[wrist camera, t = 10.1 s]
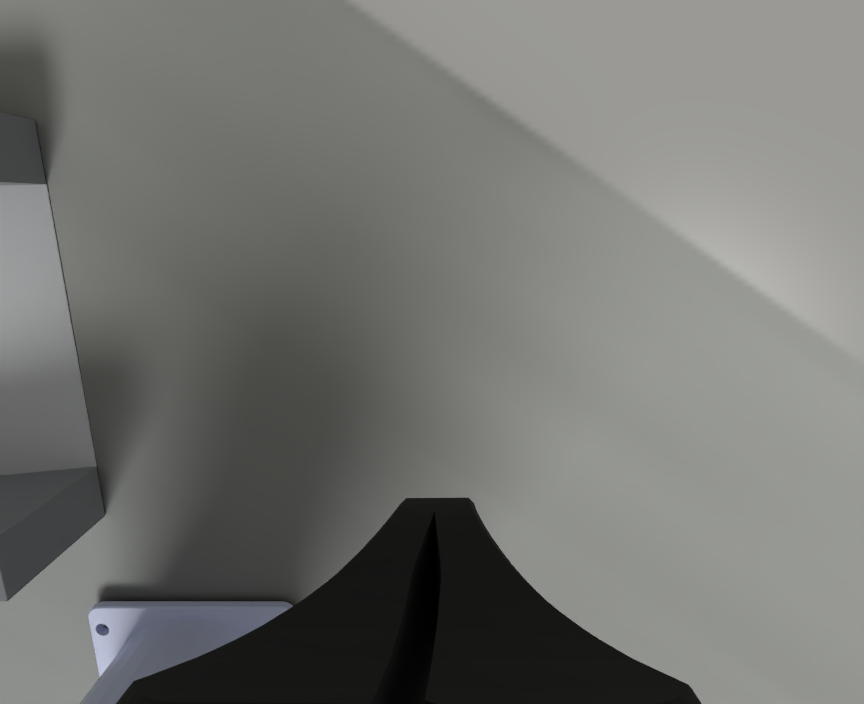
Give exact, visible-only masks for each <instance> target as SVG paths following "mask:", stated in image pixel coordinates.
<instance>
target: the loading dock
mask: <svg viewBox="0 0 864 704" xmlns="http://www.w3.org/2000/svg"><path fill="white" fill-rule="evenodd" d="M96 466H97V464H96V458H95V452H94V447H93V441H92V436H91V430H90V424H89V419H88V413H87V407H86V402H85V396H84V390H83V385H82V379H81V373H80V368H79V362H78V357H77V351H76V345H75V340H74V334H73V328H72V323H71V317H70V311H69V306H68V300H67V294H66V289H65V283H64V278H63V272H62V266H61V261H60V255H59V249H58V244H57V238H56V232H55V227H54V221H53V215H52V210H51V204H50V199H49V193H48V187H47V184H46V180H45V174H44V169H43V163H42V157H41V152H40V146H39V141H38V135H37V129H36V124H35V120H34V119H29V118H24V117H19V116H14V115H9V114H5V113H0V601H8V600H9V599H10V598H12V597H13V596H14V595H15V594H16V593H17V592H18V591H20V590H21V589H22V588H23V587H24V586H25V585H26V584H28V583H29V582H30V581H31V580H32V579H33V578H34V577H36V576H37V575H38V574H39V573H40V572H41V571H42V570H44V569H45V568H46V567H47V566H48V565H49V564H50V563H52V562H53V561H54V560H55V559H56V558H57V557H58V556H60V555H61V554H62V553H63V552H64V551H65V550H66V549H68V548H69V547H70V546H71V545H72V544H73V543H74V542H76V541H77V540H78V539H79V538H80V537H81V536H82V535H84V534H85V533H86V532H87V531H88V530H89V529H90V528H92V527H93V526H94V525H95V524H96V523H97V522H98V521H100V520H101V519H102V518H103V517H104V516H105V512H104V507H103V501H102V496H101V490H100V484H99V479H98V473H97V467H96Z"/></svg>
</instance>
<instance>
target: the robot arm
mask: <svg viewBox="0 0 864 704" xmlns="http://www.w3.org/2000/svg"><path fill="white" fill-rule="evenodd" d="M88 619H89V624H90V629H91V634H92V639H93V644H94V650H95V655H96V660H97V665H98V670H99V676H100V678H99V679H98V680H97V682H96V683H95V684H94V686H93V687H92V688H91V690H90V691H89V692H88V693H87V695H86V696H85V697H84V699H83V700H82V701H81V703H80V704H701V702H700V701H699V699H698V698H697V696H696V695H695V693H694V692H693V690H692V689H691V687H690V686H689V685H688V684H686V683H683V682H681V681H679V680H677V679H675V678H673V677H671V676H668V675H666V674H664V673H662V672H660V671H658V670H655V669H653V668H651V667H649V666H647V665H645V664H643V663H640V662H638V661H636V660H634V659H632V658H630V657H629V656H627V655H625V654H623V653H622V652H620V651H618V650H616V649H615V648H613V647H611V646H609V645H608V644H606V643H604V642H603V641H601V640H599V639H598V638H596V637H595V636H593V635H592V634H590V633H589V632H587V631H585V630H584V629H582V628H581V627H580V626H578V625H577V624H576V623H574V622H573V621H572V620H570V619H569V618H568V617H566V616H565V615H563V614H562V613H561V612H559V611H558V610H557V609H556V608H554V607H553V606H552V605H551V604H550V603H548V602H547V601H546V600H545V599H544V598H543V597H542V596H541V595H540V594H539V593H538V592H537V591H536V590H535V589H534V588H533V587H532V586H531V585H530V584H529V583H528V582H527V581H526V580H525V579H524V578H523V577H522V576H521V574H520V573H519V572H518V571H517V570H516V569H515V567H514V566H513V565H512V564H511V563H510V561H509V560H508V559H507V558H506V556H505V555H504V554H503V552H502V551H501V550H500V548H499V547H498V545H497V544H496V543H495V541H494V540H493V538H492V537H491V535H490V534H489V532H488V531H487V529H486V527H485V526H484V524H483V522H482V520H481V519H480V517H479V515H478V513H477V511H476V508H475V505H474V503H473V502H472V501H471V500H470V499H469V498H406V499H405V500H404V501H403V502H402V503H401V504H400V505H399V507H398V508H397V509H396V510H395V512H394V513H393V514H392V516H391V517H390V518H389V519H388V520H387V522H386V523H385V524H384V525H383V526H382V528H381V529H380V530H379V531H378V532H377V533H376V535H375V536H374V537H373V538H372V539H371V540H370V541H369V542H368V543H367V544H366V546H365V547H364V548H363V549H362V550H361V551H360V552H359V553H358V554H357V555H356V556H355V557H354V558H353V559H352V560H351V561H350V562H349V563H348V564H347V565H346V566H344V567H343V568H342V569H341V570H340V571H339V572H338V573H337V574H336V575H335V576H334V577H332V578H331V579H330V580H329V581H328V582H326V583H325V584H324V585H322V586H321V587H320V588H318V589H317V590H316V591H314V592H313V593H312V594H310V595H309V596H308V597H306V598H305V599H304V600H302V601H301V602H299V603H298V604H296V605H294V606H292V605H291V604H289V603H288V602H283V601H102V602H98V603H97V604H95V605H94V606H93V607H92V609H91V610H90V611H89V613H88ZM102 624H104V625H106V626H107V627H108V628H105V627H104V626H103V625H102Z"/></svg>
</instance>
